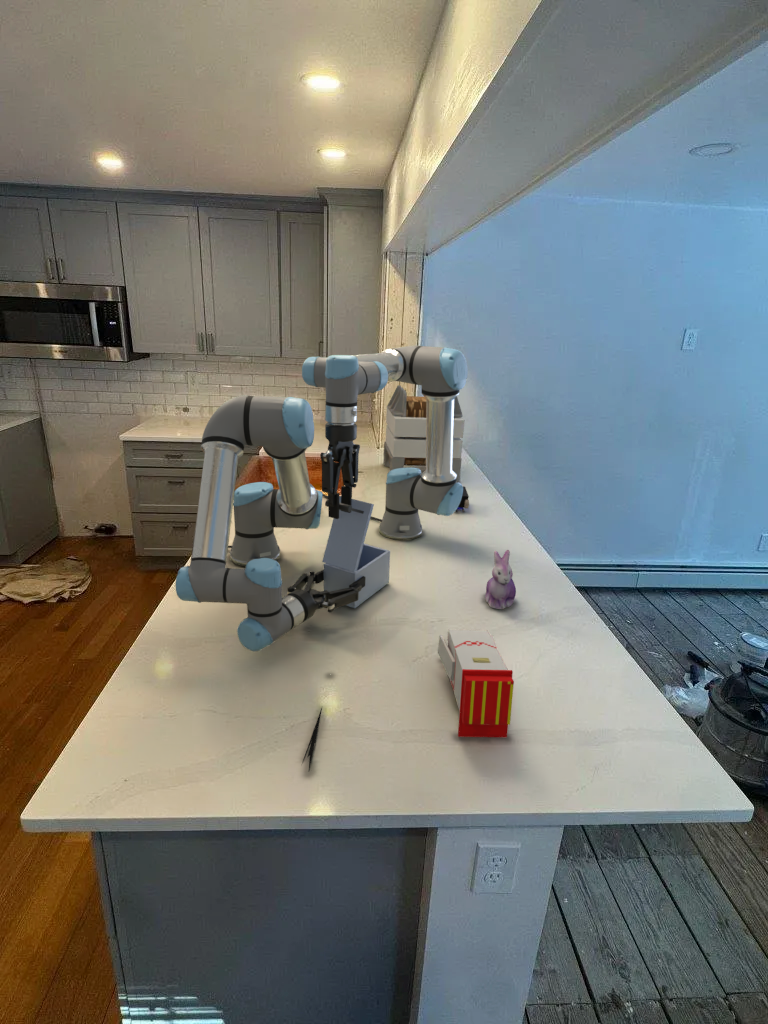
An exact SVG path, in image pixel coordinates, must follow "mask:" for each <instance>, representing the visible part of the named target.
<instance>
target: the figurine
mask: <svg viewBox="0 0 768 1024" xmlns="http://www.w3.org/2000/svg"><path fill="white" fill-rule="evenodd" d="M510 555H511V551H510V550H509V549H506V550H505V552H504V553H503V555H502V557H501V555H500V553H499V552H498V551H497V550H494V551H493V558H494V559H493V562H494V565H493V568H492V570H491V575H492V577H490V578H489V579H488V580H487V583H486V586H485V589H486V590H485V594H484V596H485V597H484V599H485V602H486V603H487V604H488V607H490V608H492V609H498V610H504V609H505V608H510V607H511V606H512V605H513V603H514V602H515V597H516V596H517V595H516V594H517V588H516V584H515V581H514V580H513V576H514V575H513V574H514V573H513V570H512V567H511V565H510Z"/></svg>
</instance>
